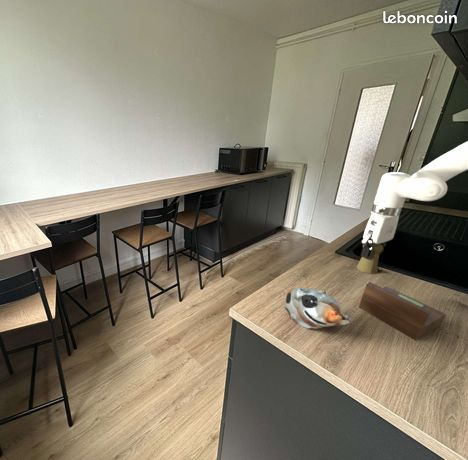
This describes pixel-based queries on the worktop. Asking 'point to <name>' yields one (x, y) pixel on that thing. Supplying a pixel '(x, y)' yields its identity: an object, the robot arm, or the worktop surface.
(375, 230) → the robot arm
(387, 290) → the brown wooden box
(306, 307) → the snowman head
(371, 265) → the cork
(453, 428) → the worktop surface
